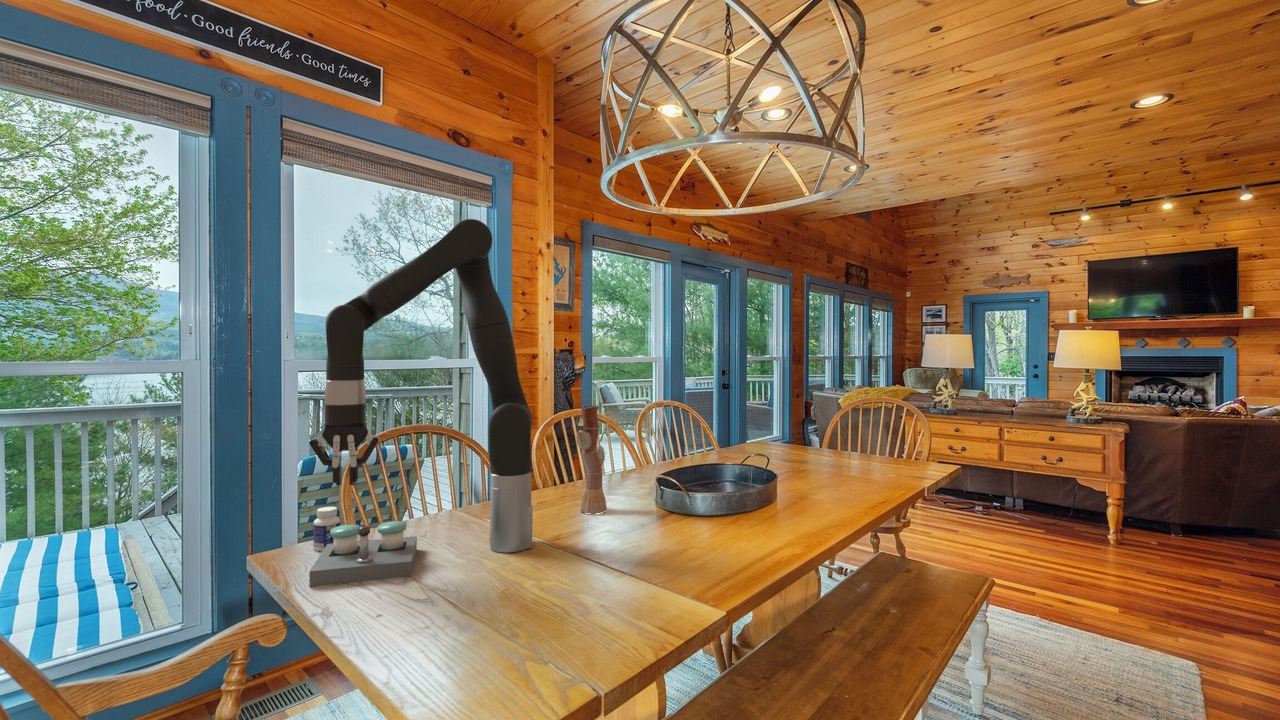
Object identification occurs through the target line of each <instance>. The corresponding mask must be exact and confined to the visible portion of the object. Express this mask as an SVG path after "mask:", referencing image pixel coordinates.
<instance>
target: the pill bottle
mask: <svg viewBox="0 0 1280 720" xmlns="http://www.w3.org/2000/svg"><path fill="white" fill-rule="evenodd" d="M337 514H338V508H337V506H324V507H320V508H318V509H317V510H316V517H317V518H316V519H314V520H313V528H312V529H313V532H312V533H313V535H312V536H313V542H312V543H313V544H312V545H313V551H316V552H323V550H324V549H325V547H326V546H327V544H331V543H334V538H333V537H331V536H330V530H331V529H332V528H335V527H338V526H341V520H340V518H339V517H338V516H337Z"/></svg>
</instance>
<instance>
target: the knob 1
mask: <svg viewBox="0 0 1280 720" xmlns="http://www.w3.org/2000/svg"><path fill="white" fill-rule="evenodd" d="M358 527H361V525H359V524H344V525H340V526H338V527H335V528H332V529H331V530H330V536H331V537H333V538H334V553H336V554H346V553H351V552H354V551H356V550H357V541H358Z"/></svg>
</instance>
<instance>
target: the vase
mask: <svg viewBox="0 0 1280 720" xmlns="http://www.w3.org/2000/svg"><path fill="white" fill-rule="evenodd" d="M599 408H600V407H599V405H598V404H594V405H591V406H582V407H581V409H580V410H581V417H582V418H581V419H582V426H583V428H582V429H580V430H578V431H577V433H576V445H577V446H578V448H579V449H580V455H581V459H582V462H583V466H584V469H585V481H586V482H585V489H584V492H583V495H582V498H581V502H580V510H581V511H582V512H584V513H591V514H596V513H601V512H604V511H606V510H607V501H606V496H605V493H604V489H603V468H602V467H603V465H604V464H605V463H604V462H605V459H606V453H605V449H604V447H603V446H602V445H598V438H599V432H600V431H599V430H600V423H599V418H598V410H599ZM581 511H580V512H581ZM582 512H581V513H582ZM606 512H607V511H606Z"/></svg>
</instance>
